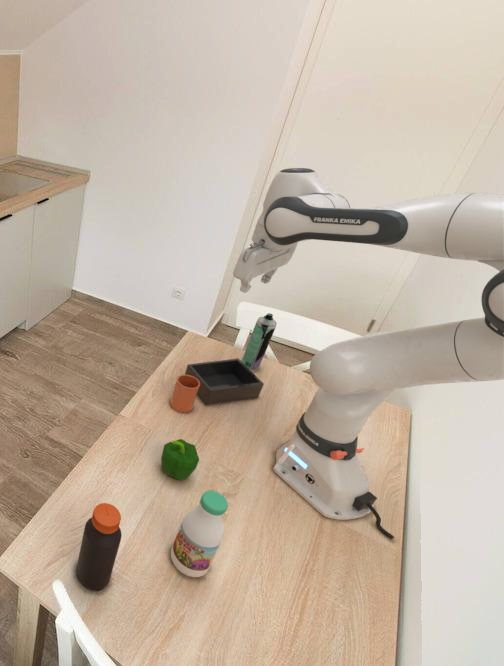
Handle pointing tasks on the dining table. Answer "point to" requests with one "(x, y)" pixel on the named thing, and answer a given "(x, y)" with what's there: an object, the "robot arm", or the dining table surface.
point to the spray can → (259, 342)
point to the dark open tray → (225, 381)
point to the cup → (184, 393)
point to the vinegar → (99, 547)
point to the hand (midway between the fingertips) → (254, 286)
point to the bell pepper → (179, 459)
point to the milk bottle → (200, 535)
